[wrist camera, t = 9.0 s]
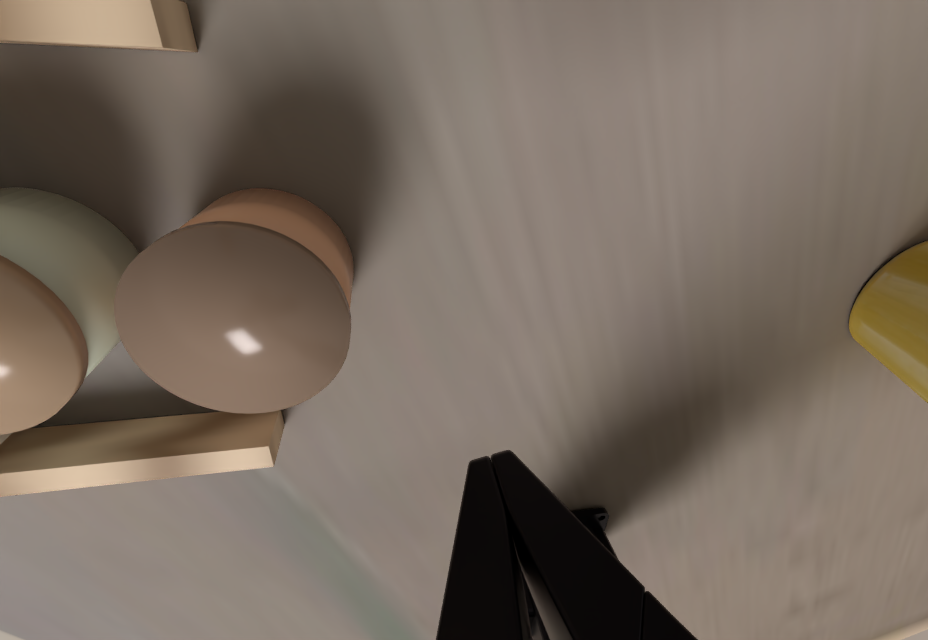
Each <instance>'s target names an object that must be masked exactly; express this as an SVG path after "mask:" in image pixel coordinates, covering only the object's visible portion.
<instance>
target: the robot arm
mask: <svg viewBox="0 0 928 640" xmlns="http://www.w3.org/2000/svg"><path fill="white" fill-rule="evenodd" d="M608 518H609V515H608V513H607V511H606V509H605V508H596V509H589V510H582V511H575V512H571V511H570V510H569V509H568V508H567V507H566V506H565V505H564V504H563V503H562V502H561V501H560V500H559V499H558V498H557V497H556V496H555V495H554V494H553V493H552V492H551V491H550V490H549V489H548V488H547V487H546V486H545V485H544V484H543V483H542V482H541V481H540V480H539V479H538V478H537V477H536V476H535V474H534V473H533V472H532V471H531V470H530V469H529V468H528V467H527V466H526V465H525V464H524V463H523V462H522V461H521V460H520V459H519V458H518V457H517V456H516V455H515V454H514V453H513V452H512V451H510V450H505V451H502V452H498V453H495V454H493V455H492V456H491V459H490V458H489V457H488V456H484V457H481V458H477V459H474V460H471V461H470V462H469V465H468V470H467V475H466V481H465V486H464V491H463V497H462V502H461V507H460V513H459V518H458V524H457V529H456V534H455V540H454V545H453V550H452V556H451V561H450V567H449V572H448V577H447V583H446V588H445V593H444V599H443V604H442V610H441V615H440V620H439V626H438V631H437V636H436V640H697V639H696V638H695V637H694V636H693V635H692V634H691V633H690V632H689V631H688V630H687V629H686V628H685V627H684V626H683V625H682V624H681V623H680V622H679V621H678V620H677V619H676V618H675V617H674V616H673V615H672V614H671V613H670V612H669V611H668V610H667V609H666V608H665V607H664V606H663V605H662V604H661V603H660V602H659V601H658V600H657V599H656V598H655V597H654V596H653V595H652V594H651V593H650V592H649V591H646V592H645V588H644V586H643V585H642V584H641V583H640V582H639V581H638V580H637V579H636V578H635V577H634V576H633V575H632V574H631V573H630V572H629V571H628V570H627V569H626V568H625V567H624V566H623V565H622V564H621V563H620V561H619V560H618V558H617V556H616V554H615V552H614V550H613V548H612V546H611V544H610V542H609V540H608V538H607V536H606V534H605V532H604V531H605V527H606V524H607V521H608Z"/></svg>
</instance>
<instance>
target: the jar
mask: <svg viewBox="0 0 928 640" xmlns="http://www.w3.org/2000/svg"><path fill="white" fill-rule="evenodd" d="M353 276H354V263H353V257H352V253H351V250H350V247H349V244H348V242H347V240H346V238H345V236H344V234H343V233H342V231H341V230H340V228H339V227H338V226H337V224H336V223H335V222H334V221H333V220H332V219H331V218H330V217H329V216H328V215H327V214H326V213H325V212H324V211H322V210H321V209H320V208H318V207H317V206H316V205H314V204H313V203H311V202H309V201H307V200H306V199H304V198H301V197H299V196H297V195H294V194H291V193H288V192H285V191H281V190H275V189H266V188H253V189H244V190H239V191H235V192H232V193H230V194H227V195H224V196H223V197H221V198H219V199H217V200H215V201H214V202H213V203H211V204H210V205H209V206H207V207H206V208H205V209H204V210H202V211H201V212H200V213H198V214H197V215H196V216H194V217H193V218H192V219H191V220H189V221H188V222H187V223H185V224H184V225H183V226H182V227H180V228H179V229H177V230H174V231H172V232H170V233H168V234H166V235H165V236H163V237H161V238H159V239H158V240H157V241H155V242H154V243H153V244H151V245H150V246H149V247H147V248H146V249H145V250H143V251H142V252H141V253H139V254H138V255H137V256H136V257H135V259H134V260H133V261H132V262H131V263H130V264H129V265H128V267H127V268H126V270H125V271H124V273H123V274H122V276H121V279H120V281H119V284H118V286H117V289H116V294H115V299H114V316H115V322H116V327H117V330H118V333H119V336H120V339H121V341H122V343H123V345H124V347H125V349H126V350H127V352H128V353H129V355H130V356H131V358H132V359H133V361H134V362H135V363H136V364H137V365H138V366H139V367H140V369H141V370H142V371H143V372H144V373H145V374H146V375H147V376H149V377H150V378H151V379H152V380H153V381H154V382H156V383H157V384H159V385H160V386H161V387H163V388H164V389H166V390H167V391H169V392H171V393H173V394H174V395H176V396H178V397H180V398H182V399H184V400H187V401H189V402H191V403H194V404H197V405H200V406H203V407H206V408H210V409H214V410H218V411H224V412H231V413H245V414H252V413H266V412H273V411H278V410H282V409H286V408H289V407H292V406H295V405H298V404H300V403H302V402H304V401H306V400H308V399H310V398H311V397H313V396H315V395H316V394H318V393H319V392H320V391H322V390H323V389H324V388H325V387H326V386H327V385H328V384H329V383H330V382H331V381H332V380H333V379H334V378H335V377H336V375H337V374H338V372H339V371H340V369H341V367H342V365H343V363H344V361H345V359H346V356H347V352H348V349H349V342H350V334H351V314H350V303H351V294H352V285H353Z"/></svg>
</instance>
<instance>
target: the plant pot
mask: <svg viewBox="0 0 928 640" xmlns="http://www.w3.org/2000/svg"><path fill="white" fill-rule="evenodd" d="M849 330H850V333H851V335H852V337H853V338H854V339H855V340H856V341H857V342H858V343H859V344H860V345H861V346H863V347H864V348H865V349H866V350H867V351H868V352H870V353H871V354H872V355H873V356H874V357H875V358H876V359H878V360H879V361H880V362H881V363H882V364H883V365H885V366H886V367H887V368H888V369H889V370H890V371H891V372H893V373H894V374H895V375H896V376H897V377H898V378H900V379H901V380H902V381H903V382H904V383H905V384H906V385H908V386H909V387H910V388H911V389H912V390H913V391H914V392H916V393H917V394H918V395H919V396H920V397H921V398H922V399H923V400H925V401H926V402H927V403H928V241H925V242H922V243H920V244H917V245H915V246H913V247H911V248H909V249H907V250H906V251H904V252H902V253H901V254H899V255H898V256H896V257H895V258H893V259H892V260H891V261H889V262H888V263H887V264H886V265H885V266H883V267H882V268H881V269H880V270H879V271H878V272H877V273H876V274H875V275H874V276H873V277H872V278H871V279H870V280H869V282H868V283H867V284H866V285H865V287H864V288H863V289H862V291H861V292H860V294H859V296H858V297H857V299H856V301H855V303H854V305H853V308H852V311H851V314H850V318H849Z"/></svg>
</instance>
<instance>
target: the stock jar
mask: <svg viewBox="0 0 928 640" xmlns="http://www.w3.org/2000/svg"><path fill="white" fill-rule="evenodd" d="M138 254H139V252H138V251H137V249H136V248H135V247H134V245H133V244H132V243H131V241H130V240H129V239H128V238H127V237H126V236H125V235H124V234H123V233H122V232H121V231H120V230H119V229H118V228H117V227H116V226H115V225H113V224H112V223H111V222H110V221H108V220H107V219H106V218H104V217H103V216H101V215H100V214H99V213H97V212H95V211H93V210H92V209H90V208H88V207H87V206H85V205H83V204H80V203H78V202H76V201H74V200H72V199H69V198H66V197H64V196H61V195H58V194H55V193H51V192H47V191H43V190H37V189H31V188H17V187H11V188H0V435H2V434H9V433H13V432H17V431H22V430H25V429H28V428H31V427H33V426H36V425H38V424H40V423H42V422H44V421H46V420H48V419H49V418H50V417H52V416H53V415H55V414H56V413H57V412H58V411H59V410H60V409H61V408H62V407H63V406H64V405H65V404H66V403H67V402H68V401H69V400H70V399H71V398H72V397H73V396H74V395H75V394H76V392H77V391H78V390H79V388H80V387H81V385H82V384H83V381H84V379H85V378H86V377H87V376H88V375H89V374H90V372H91V371H92V370H93V369H94V368H95V367H96V366H97V365H98V364H99V363H100V362H101V361H102V360H103V359H104V358H105V357H106V356H107V355H108V354H109V353H110V352H111V351H112V349H113V348H114V347H115V346H116V345H117V344H118V343H119V342H120V341H121V339H120V336H119V333H118V330H117V327H116V322H115V316H114V299H115V294H116V289H117V286H118V284H119V281H120V279H121V276H122V274H123V273H124V271H125V270H126V268H127V267H128V265H129V264H130V263H131V262H132V261H133V260H134V259H135V257H136V256H137V255H138Z"/></svg>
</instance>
